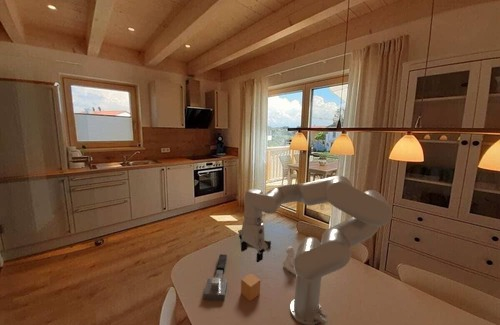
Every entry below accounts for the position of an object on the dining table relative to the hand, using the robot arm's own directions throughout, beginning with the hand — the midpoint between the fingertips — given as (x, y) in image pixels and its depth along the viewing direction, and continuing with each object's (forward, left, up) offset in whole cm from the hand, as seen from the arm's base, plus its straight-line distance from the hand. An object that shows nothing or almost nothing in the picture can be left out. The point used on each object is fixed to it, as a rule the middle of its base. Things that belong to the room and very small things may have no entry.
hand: (251, 255), depth 92 cm
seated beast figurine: (-2, -28, -19) cm, 34 cm away
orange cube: (0, 0, -19) cm, 19 cm away
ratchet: (+18, +4, -19) cm, 26 cm away
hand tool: (+26, -30, -19) cm, 44 cm away
